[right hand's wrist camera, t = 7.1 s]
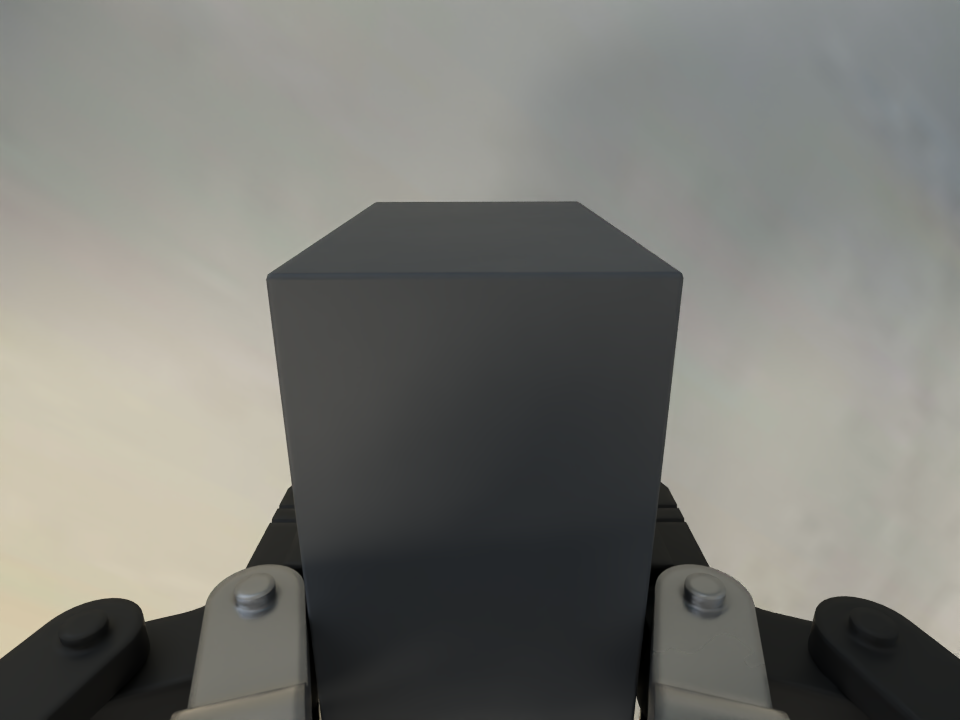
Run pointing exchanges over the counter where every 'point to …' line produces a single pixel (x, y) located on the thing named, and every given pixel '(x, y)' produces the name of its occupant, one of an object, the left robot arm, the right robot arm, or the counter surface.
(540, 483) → the beam
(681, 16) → the counter surface
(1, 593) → the counter surface
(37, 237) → the counter surface
